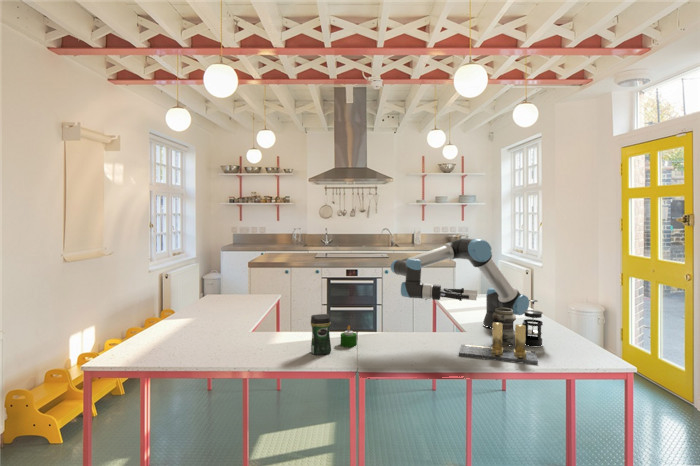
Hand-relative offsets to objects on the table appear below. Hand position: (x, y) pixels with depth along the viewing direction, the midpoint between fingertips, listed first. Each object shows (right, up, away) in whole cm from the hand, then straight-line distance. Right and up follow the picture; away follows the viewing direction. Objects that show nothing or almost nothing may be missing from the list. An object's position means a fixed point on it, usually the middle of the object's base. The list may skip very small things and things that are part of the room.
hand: (477, 295), depth 199 cm
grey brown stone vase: (+18, -27, +15) cm, 36 cm away
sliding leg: (+8, -26, -5) cm, 28 cm away
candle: (-62, -27, +13) cm, 69 cm away
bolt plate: (+9, -28, -3) cm, 29 cm away
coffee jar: (-75, -28, +1) cm, 80 cm away
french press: (+32, -27, +14) cm, 45 cm away
